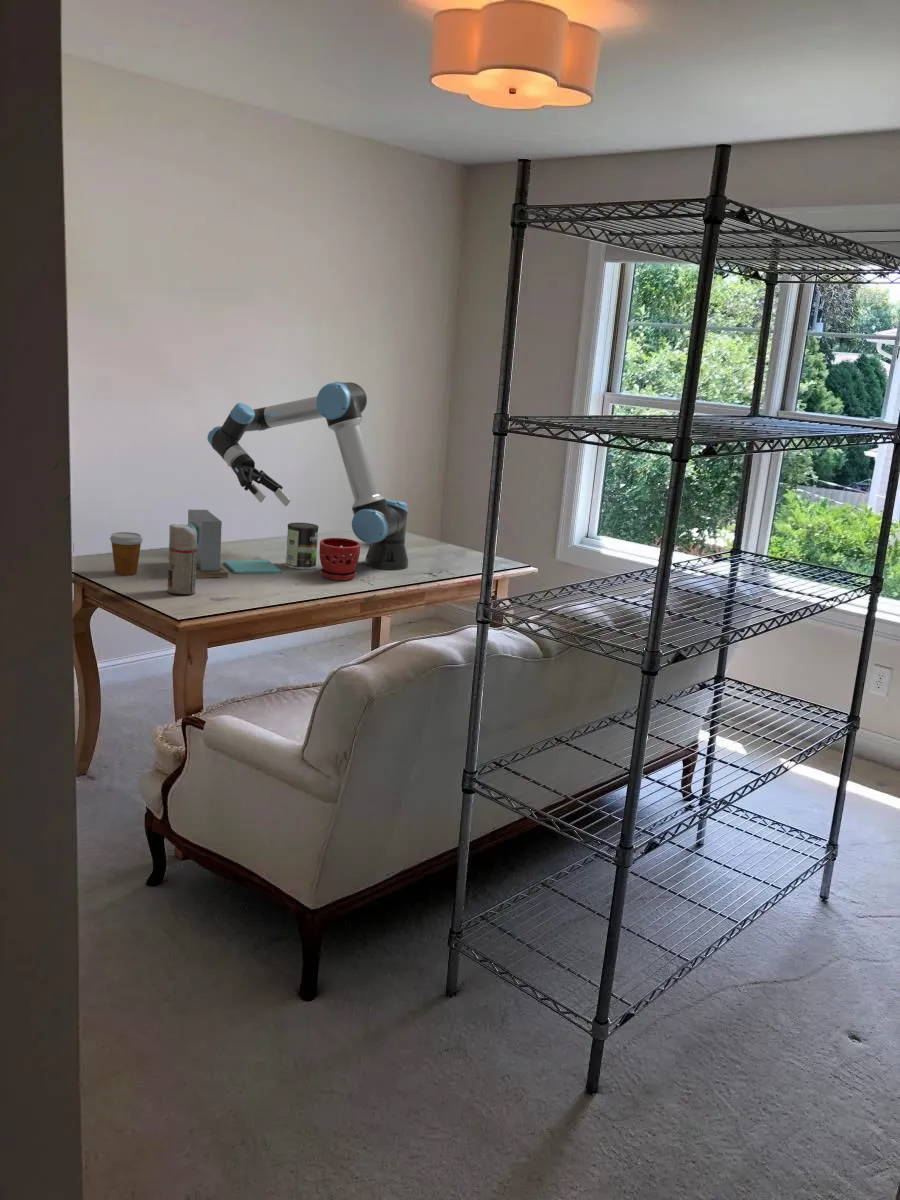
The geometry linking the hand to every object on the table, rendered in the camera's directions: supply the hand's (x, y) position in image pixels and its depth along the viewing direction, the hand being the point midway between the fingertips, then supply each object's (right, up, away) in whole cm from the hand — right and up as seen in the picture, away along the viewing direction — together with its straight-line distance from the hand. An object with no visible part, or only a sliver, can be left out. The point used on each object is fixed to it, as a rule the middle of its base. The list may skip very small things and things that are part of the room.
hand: (275, 501), depth 333 cm
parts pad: (-6, -23, -8) cm, 25 cm away
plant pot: (+22, -26, -10) cm, 36 cm away
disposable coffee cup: (-41, -25, -30) cm, 57 cm away
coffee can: (+8, -22, +1) cm, 24 cm away
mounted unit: (-21, -23, -16) cm, 35 cm away
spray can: (-20, -31, -46) cm, 59 cm away
